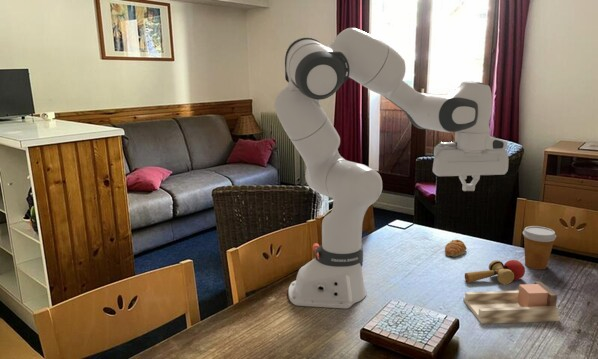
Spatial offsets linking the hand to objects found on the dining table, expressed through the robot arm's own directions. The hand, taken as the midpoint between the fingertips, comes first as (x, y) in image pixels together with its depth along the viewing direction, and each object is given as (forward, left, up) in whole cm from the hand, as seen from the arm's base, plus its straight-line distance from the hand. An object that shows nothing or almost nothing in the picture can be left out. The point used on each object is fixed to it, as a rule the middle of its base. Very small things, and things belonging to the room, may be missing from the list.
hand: (468, 190), depth 129 cm
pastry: (+7, +25, -30) cm, 39 cm away
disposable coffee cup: (+29, +12, -29) cm, 43 cm away
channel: (+7, -15, -29) cm, 33 cm away
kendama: (+11, +3, -30) cm, 32 cm away
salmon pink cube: (+13, -15, -28) cm, 34 cm away
